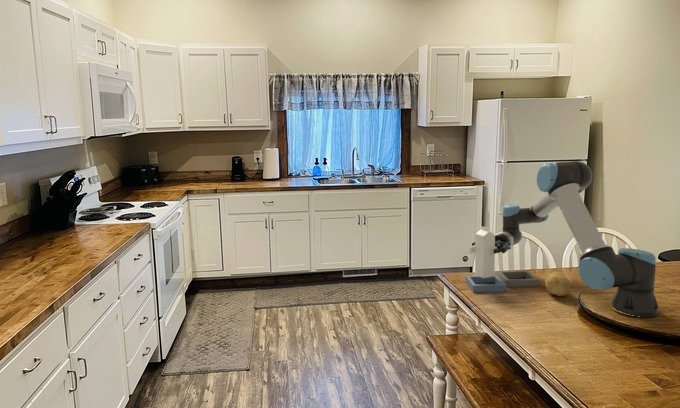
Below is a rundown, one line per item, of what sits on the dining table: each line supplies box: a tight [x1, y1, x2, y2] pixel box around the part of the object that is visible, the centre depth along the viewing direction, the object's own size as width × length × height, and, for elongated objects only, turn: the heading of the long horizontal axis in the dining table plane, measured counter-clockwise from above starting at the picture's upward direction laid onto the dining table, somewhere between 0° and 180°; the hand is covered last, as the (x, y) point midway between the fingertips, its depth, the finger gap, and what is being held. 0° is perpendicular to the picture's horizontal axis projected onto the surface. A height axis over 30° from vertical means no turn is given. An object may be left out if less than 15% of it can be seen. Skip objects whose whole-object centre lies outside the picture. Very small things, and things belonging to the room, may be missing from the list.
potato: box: [544, 270, 571, 297], centre depth 199 cm, size 10×14×10 cm
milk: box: [474, 225, 496, 278], centre depth 211 cm, size 6×6×22 cm
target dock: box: [465, 274, 507, 293], centre depth 212 cm, size 14×14×3 cm
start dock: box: [496, 270, 539, 288], centre depth 218 cm, size 14×14×3 cm
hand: (480, 251), depth 207 cm, fingers closed on milk, 8 cm apart
